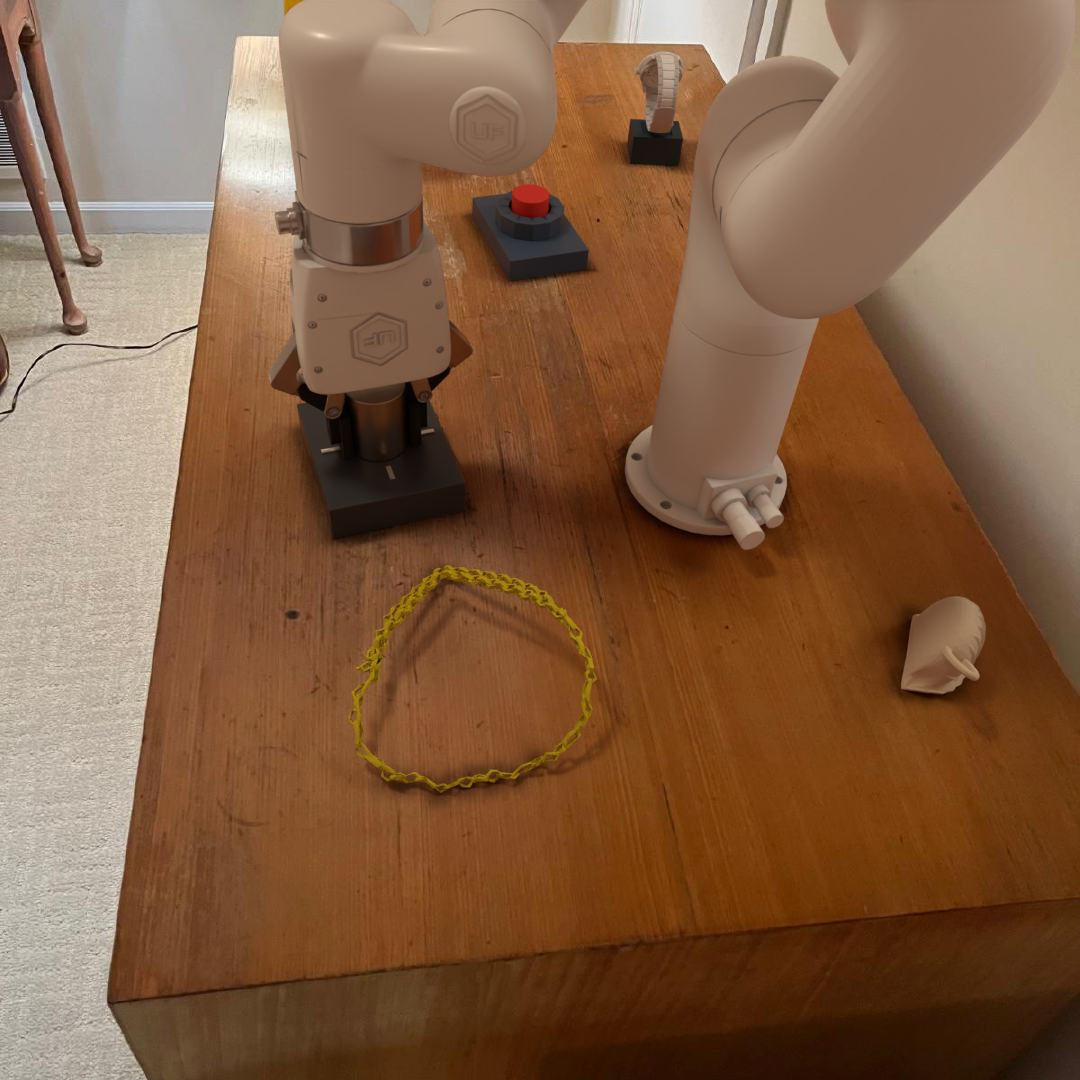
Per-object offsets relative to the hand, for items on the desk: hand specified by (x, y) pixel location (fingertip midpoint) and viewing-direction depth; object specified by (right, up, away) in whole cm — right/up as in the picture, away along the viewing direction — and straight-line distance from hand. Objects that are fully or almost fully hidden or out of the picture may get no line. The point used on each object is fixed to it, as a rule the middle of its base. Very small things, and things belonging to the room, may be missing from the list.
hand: (378, 438), depth 76 cm
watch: (+25, +36, +40) cm, 60 cm away
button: (+11, +25, +23) cm, 36 cm away
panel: (0, -2, +2) cm, 3 cm away
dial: (0, 0, 0) cm, 0 cm away
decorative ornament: (+39, -16, -7) cm, 43 cm away
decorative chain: (+7, -17, -10) cm, 20 cm away
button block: (+11, +22, +26) cm, 36 cm away
